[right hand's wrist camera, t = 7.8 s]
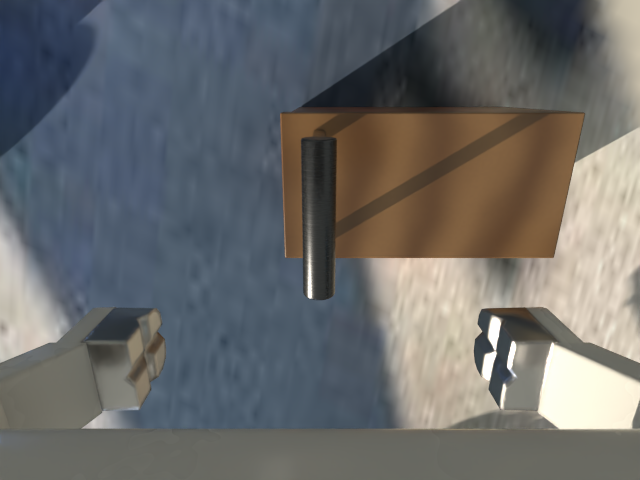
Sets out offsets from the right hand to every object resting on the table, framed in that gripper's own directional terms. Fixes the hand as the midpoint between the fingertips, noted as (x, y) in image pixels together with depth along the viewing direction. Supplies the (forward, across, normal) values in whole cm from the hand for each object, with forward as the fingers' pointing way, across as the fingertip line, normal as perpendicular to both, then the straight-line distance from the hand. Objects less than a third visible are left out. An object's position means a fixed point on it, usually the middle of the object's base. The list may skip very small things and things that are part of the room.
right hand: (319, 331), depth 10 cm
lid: (+17, +7, 0) cm, 18 cm away
